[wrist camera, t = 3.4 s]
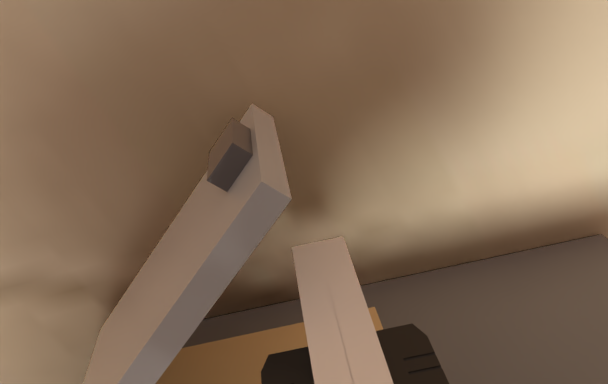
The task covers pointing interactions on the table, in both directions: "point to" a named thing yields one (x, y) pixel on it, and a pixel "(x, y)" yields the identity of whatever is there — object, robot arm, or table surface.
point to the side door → (196, 254)
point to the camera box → (447, 322)
